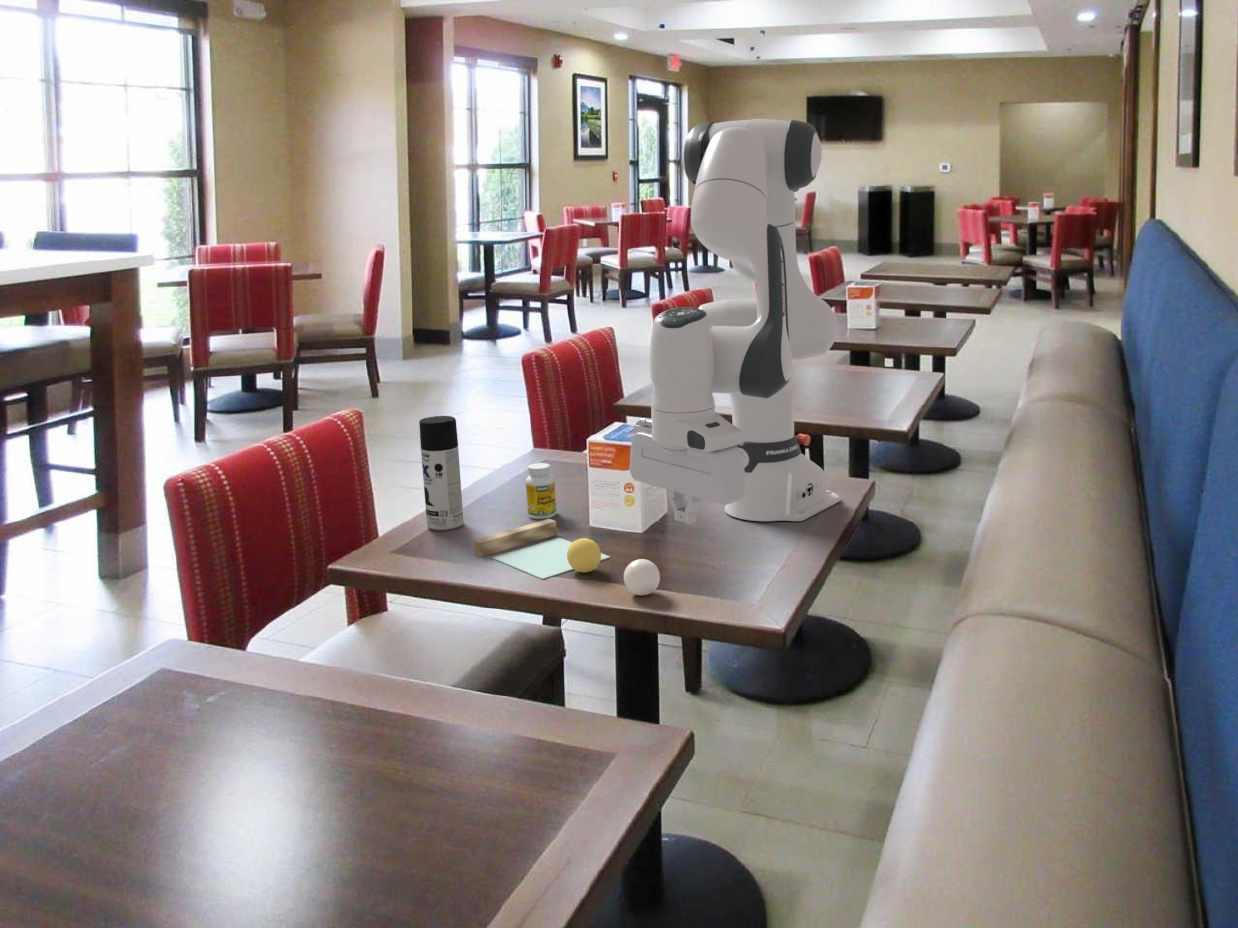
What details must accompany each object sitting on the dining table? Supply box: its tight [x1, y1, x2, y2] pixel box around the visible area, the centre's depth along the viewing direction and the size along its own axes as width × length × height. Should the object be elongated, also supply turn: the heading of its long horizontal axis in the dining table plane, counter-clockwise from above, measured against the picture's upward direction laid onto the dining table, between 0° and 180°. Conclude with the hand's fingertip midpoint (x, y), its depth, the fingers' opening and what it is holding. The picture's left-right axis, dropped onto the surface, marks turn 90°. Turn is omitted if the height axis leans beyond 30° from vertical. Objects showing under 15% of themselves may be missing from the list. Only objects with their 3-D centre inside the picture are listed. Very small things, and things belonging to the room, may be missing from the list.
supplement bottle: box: [525, 462, 557, 520], centre depth 215 cm, size 5×5×10 cm
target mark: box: [492, 537, 611, 581], centre depth 194 cm, size 14×14×1 cm
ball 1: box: [567, 537, 602, 574], centre depth 186 cm, size 6×6×6 cm
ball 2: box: [623, 558, 661, 597], centre depth 176 cm, size 6×6×6 cm
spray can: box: [418, 415, 464, 532], centre depth 210 cm, size 7×7×20 cm
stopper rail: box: [472, 518, 558, 558], centre depth 201 cm, size 16×2×2 cm, turn 130°
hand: (685, 521), depth 165 cm, fingers closed
